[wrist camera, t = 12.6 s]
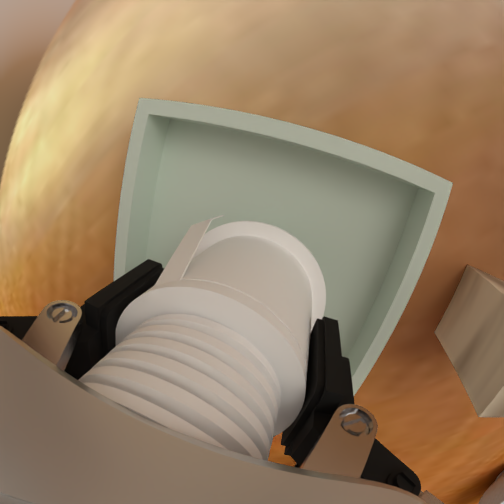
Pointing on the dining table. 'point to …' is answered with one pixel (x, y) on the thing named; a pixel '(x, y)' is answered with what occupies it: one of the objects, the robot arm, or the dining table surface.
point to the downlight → (220, 338)
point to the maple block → (477, 339)
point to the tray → (285, 206)
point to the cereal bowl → (494, 492)
